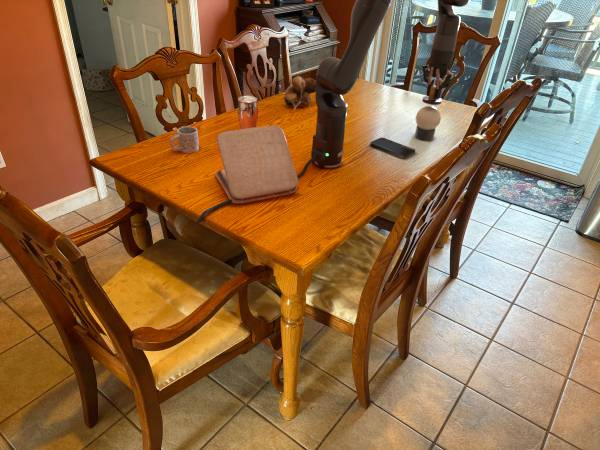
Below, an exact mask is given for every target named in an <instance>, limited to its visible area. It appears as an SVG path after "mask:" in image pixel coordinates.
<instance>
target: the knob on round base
mask: <svg viewBox="0 0 600 450" xmlns="http://www.w3.org/2000/svg"><path fill="white" fill-rule="evenodd" d="M435 89H436V84H434V85H432V86H431V88H430V93H429V96H427V95H425V96H423V97H422V103H424V104H427V105H429V106H437V105H438V106H439V105H441V104H442V101H443V100H442V98H441V97H440V98H439V99H434V93H435Z"/></svg>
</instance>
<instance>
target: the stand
mask: <svg viewBox="0 0 600 450" xmlns="http://www.w3.org/2000/svg"><path fill="white" fill-rule="evenodd" d="M436 129H437V127H436V128H435V129H433V130H423V129H421V128H419V127H418V125H417V124H416V128H415V133H414V138H415V139H417V140H418V141H419V140H420V141H424V142H430V141H433V140H434V138H435V135H436Z"/></svg>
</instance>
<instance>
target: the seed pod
mask: <svg viewBox="0 0 600 450" xmlns="http://www.w3.org/2000/svg"><path fill="white" fill-rule="evenodd" d="M315 93H316V79H314V78H312V77H308V78H303V77H302V76H299V75H297V76H294V77H293V78H292V82H291V85H289V86H288V87H287V88H286V89H285V91H284V97H283V101H284V103H285V105H286V106H288V107H293V111H296V109H297V107H298V106H301V107H302V108H304V107H308V106H310V104H311V102H312V101H311V100H312V97H311V94H315Z"/></svg>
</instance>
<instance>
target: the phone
mask: <svg viewBox="0 0 600 450" xmlns="http://www.w3.org/2000/svg"><path fill="white" fill-rule="evenodd" d="M369 147H372V148H374V149H376V150H378V151H382V152H385V153H387V154H389V155H392V156H395V157H397V158H400V159H404V160H406V159H408V158H410V157H412V156H413V155H415V154H416V149H415V148H413V147H410V146H407V145H405V144H402V143H399V142H396V141H394V140H391V139H388V138H385V137H379V138H377V139H374V140H372V141H370V144H369Z"/></svg>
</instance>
